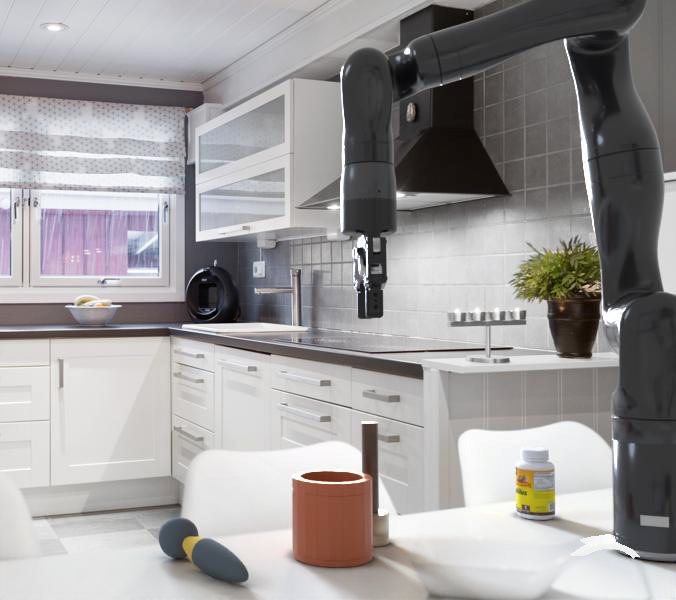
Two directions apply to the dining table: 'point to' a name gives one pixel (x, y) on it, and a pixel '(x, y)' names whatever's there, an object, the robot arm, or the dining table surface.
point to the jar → (332, 518)
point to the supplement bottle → (535, 484)
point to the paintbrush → (200, 550)
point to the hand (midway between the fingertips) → (369, 318)
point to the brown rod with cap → (374, 481)
